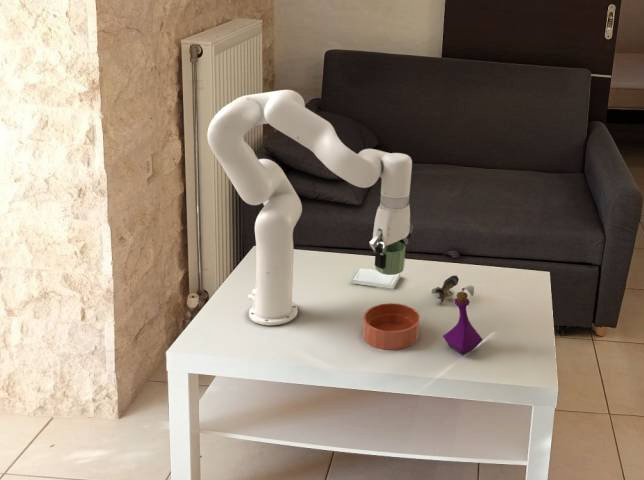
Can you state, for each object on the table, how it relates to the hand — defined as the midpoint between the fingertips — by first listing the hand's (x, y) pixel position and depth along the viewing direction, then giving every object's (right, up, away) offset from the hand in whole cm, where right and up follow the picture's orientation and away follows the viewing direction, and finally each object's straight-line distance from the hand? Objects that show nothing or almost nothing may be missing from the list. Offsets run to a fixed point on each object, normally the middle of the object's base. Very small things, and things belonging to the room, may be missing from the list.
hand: (390, 261), depth 195 cm
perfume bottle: (+19, -22, -6) cm, 30 cm away
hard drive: (-8, -12, +26) cm, 30 cm away
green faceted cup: (0, -2, 0) cm, 2 cm away
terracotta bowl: (+1, -19, -3) cm, 19 cm away
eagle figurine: (+13, -15, +19) cm, 28 cm away
